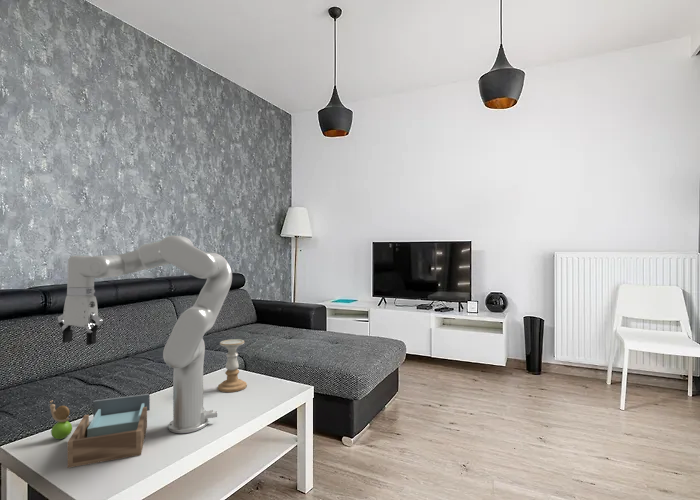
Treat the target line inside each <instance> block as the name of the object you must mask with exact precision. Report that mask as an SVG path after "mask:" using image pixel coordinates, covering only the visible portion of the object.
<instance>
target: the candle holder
mask: <svg viewBox="0 0 700 500" xmlns="http://www.w3.org/2000/svg"><path fill="white" fill-rule="evenodd" d="M244 344H245V340H243V339H240V338H239V339H237V338H235V339H234V338H233V339H224V340H221V341H220V342H219V345H220V346H221V347H223V348H224V347H225V349H227V351H228V352H227V353H226V355H225V356H226V358H227V361H226V364H225V369H226V371H225V375H226V380H223V381H222V382H220V383H219V384H218V386H217V390H218V391H219V392H221V393H235V392H236V391H237V392H240V390H241V391H242V390H245V389H246V388H247V386H248V384H247V382H246V381H244V380H242V379H241V378H239V377H238V375H239V373H240V370H239V366H240V365H239V361H238V356H239V353H238V352H237V349H238V348H239V347H241V346H242V345H244Z"/></svg>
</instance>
